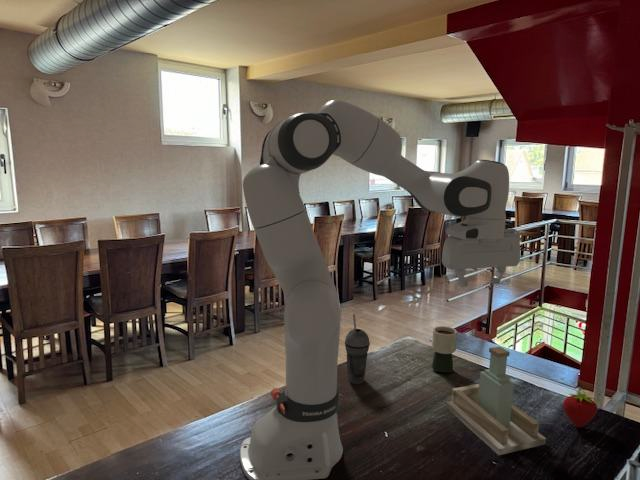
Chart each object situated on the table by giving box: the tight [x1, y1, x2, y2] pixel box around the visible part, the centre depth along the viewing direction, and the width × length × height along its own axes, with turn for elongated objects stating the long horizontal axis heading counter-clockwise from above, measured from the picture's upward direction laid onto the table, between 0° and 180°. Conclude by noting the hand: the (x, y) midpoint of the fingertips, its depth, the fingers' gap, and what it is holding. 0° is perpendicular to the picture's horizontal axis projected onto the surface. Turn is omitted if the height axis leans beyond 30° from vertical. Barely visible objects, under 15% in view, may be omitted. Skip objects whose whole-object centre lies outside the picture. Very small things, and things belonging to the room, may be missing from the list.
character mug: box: [431, 325, 458, 374], centre depth 134 cm, size 11×7×13 cm, turn 11°
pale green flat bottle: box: [477, 346, 515, 426], centre depth 106 cm, size 7×4×18 cm, turn 18°
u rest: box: [445, 383, 547, 456], centre depth 108 cm, size 13×20×5 cm, turn 18°
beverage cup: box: [344, 314, 371, 385], centre depth 127 cm, size 7×7×20 cm
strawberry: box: [563, 388, 598, 428], centre depth 107 cm, size 6×8×10 cm
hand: (479, 284), depth 108 cm, fingers open, 8 cm apart
